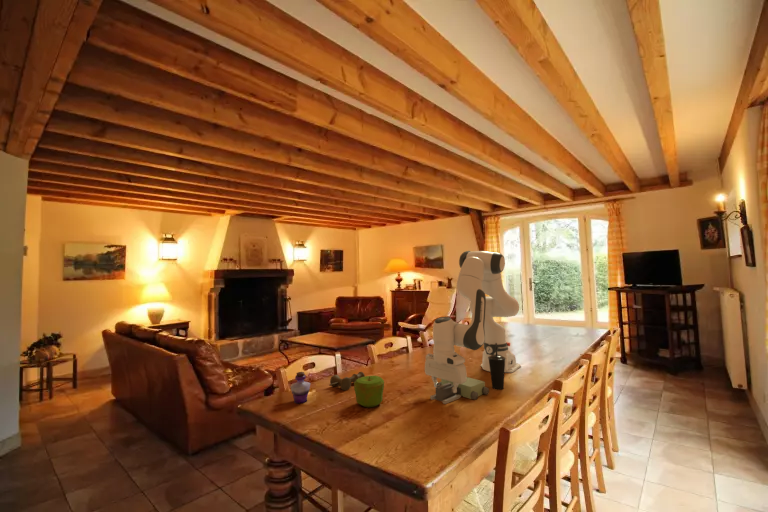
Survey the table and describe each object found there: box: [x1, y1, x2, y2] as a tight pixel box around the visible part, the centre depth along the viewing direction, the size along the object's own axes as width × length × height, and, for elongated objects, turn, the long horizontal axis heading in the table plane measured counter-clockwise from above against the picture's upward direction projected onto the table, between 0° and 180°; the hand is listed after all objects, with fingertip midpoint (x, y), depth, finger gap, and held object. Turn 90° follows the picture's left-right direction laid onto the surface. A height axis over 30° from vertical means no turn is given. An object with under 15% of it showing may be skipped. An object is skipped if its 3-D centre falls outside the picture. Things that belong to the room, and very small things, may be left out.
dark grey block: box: [434, 383, 456, 403], centre depth 145 cm, size 8×4×6 cm, turn 131°
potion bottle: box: [290, 371, 311, 405], centre depth 146 cm, size 9×9×12 cm
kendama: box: [328, 371, 366, 392], centre depth 164 cm, size 6×10×20 cm
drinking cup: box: [488, 343, 506, 391], centre depth 156 cm, size 8×8×20 cm
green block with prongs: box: [429, 376, 490, 405], centre depth 149 cm, size 22×19×5 cm
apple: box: [353, 375, 385, 408], centre depth 140 cm, size 12×12×11 cm
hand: (445, 389), depth 145 cm, fingers open, 8 cm apart
